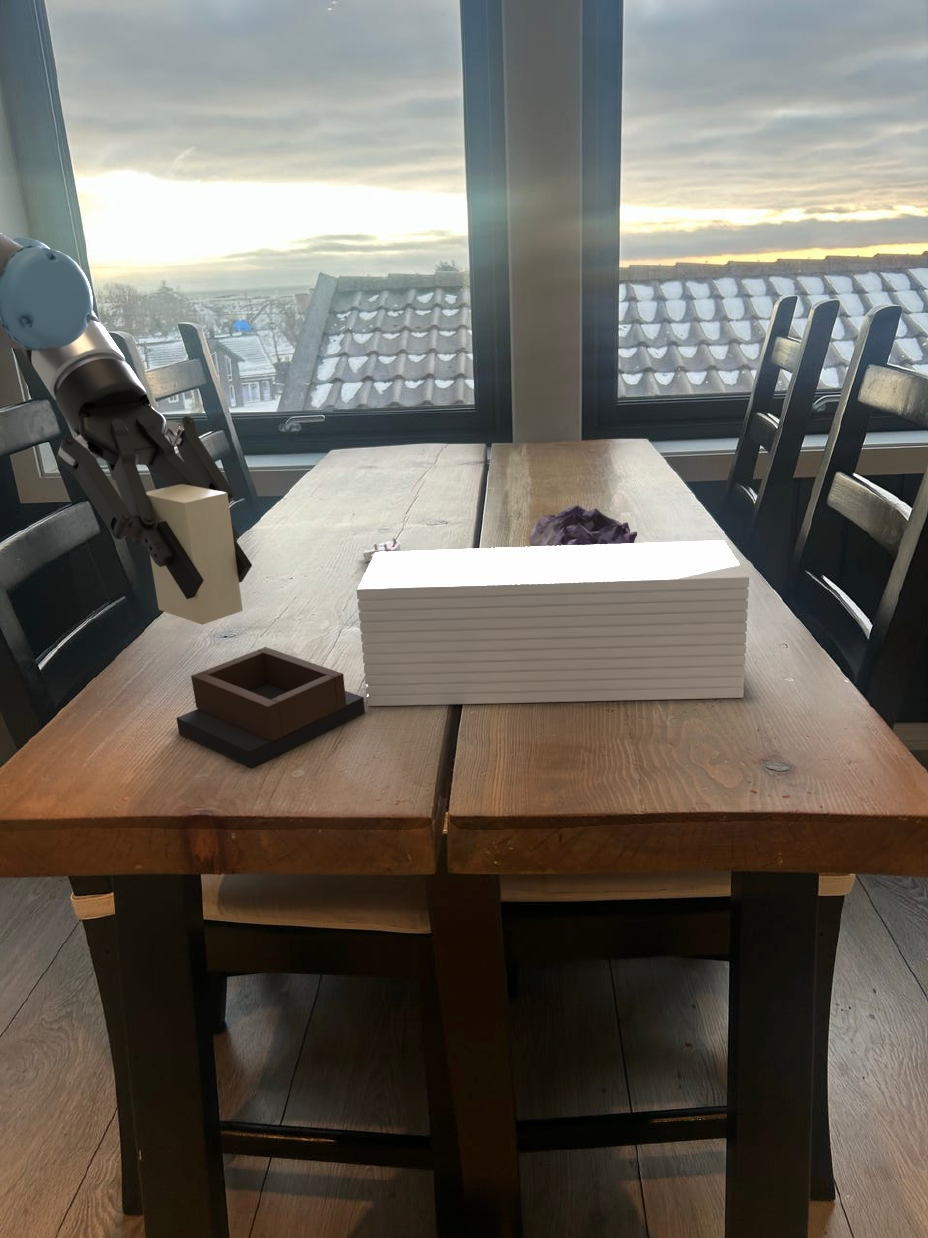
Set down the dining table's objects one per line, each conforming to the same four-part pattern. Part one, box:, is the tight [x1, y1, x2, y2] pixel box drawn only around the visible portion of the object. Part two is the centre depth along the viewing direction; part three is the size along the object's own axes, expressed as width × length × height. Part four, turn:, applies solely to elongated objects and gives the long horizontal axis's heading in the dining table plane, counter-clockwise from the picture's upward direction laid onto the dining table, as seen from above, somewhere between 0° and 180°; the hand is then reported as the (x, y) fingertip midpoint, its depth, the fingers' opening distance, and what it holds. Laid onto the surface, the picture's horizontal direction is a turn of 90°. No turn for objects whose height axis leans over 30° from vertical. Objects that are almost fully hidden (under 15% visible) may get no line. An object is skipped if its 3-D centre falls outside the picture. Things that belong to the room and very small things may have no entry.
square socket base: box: [176, 646, 366, 769], centre depth 84 cm, size 12×10×4 cm
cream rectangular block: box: [146, 484, 244, 626], centre depth 90 cm, size 4×7×11 cm, turn 48°
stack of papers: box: [356, 540, 750, 707], centre depth 89 cm, size 32×11×11 cm, turn 87°
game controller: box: [362, 537, 423, 562], centre depth 127 cm, size 6×12×3 cm, turn 101°
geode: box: [528, 505, 638, 547], centre depth 110 cm, size 20×12×10 cm, turn 9°
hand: (219, 581), depth 88 cm, fingers closed on cream rectangular block, 4 cm apart
